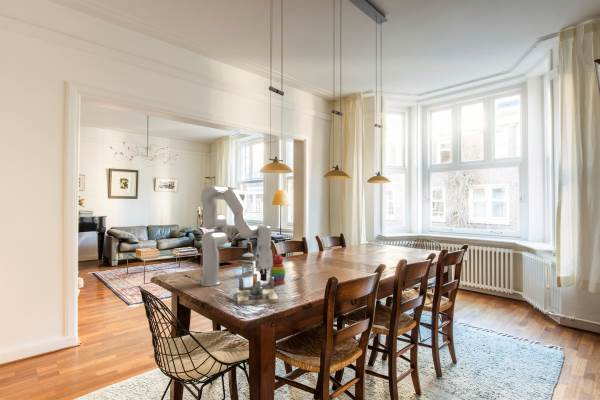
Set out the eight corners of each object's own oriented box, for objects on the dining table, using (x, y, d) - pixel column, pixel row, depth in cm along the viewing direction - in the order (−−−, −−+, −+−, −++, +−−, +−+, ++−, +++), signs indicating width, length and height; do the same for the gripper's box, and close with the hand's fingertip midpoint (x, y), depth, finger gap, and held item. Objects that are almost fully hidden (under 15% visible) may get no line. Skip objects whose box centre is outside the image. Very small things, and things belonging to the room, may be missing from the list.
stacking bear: (269, 280, 204) (270, 252, 204) (285, 281, 204) (286, 253, 204) (267, 285, 194) (268, 255, 194) (284, 285, 193) (284, 256, 193)
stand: (237, 305, 155) (237, 297, 155) (235, 293, 175) (235, 286, 175) (278, 302, 160) (279, 295, 160) (272, 291, 180) (272, 284, 180)
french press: (240, 273, 223) (241, 238, 223) (257, 273, 224) (258, 238, 224) (239, 277, 213) (240, 239, 213) (257, 277, 214) (258, 239, 214)
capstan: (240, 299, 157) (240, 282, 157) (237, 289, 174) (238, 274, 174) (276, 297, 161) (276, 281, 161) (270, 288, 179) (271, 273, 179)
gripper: (259, 250, 171) (258, 284, 171) (277, 247, 183) (277, 279, 183) (249, 248, 176) (249, 281, 176) (268, 245, 188) (267, 277, 188)
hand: (263, 280), depth 179 cm, fingers closed
